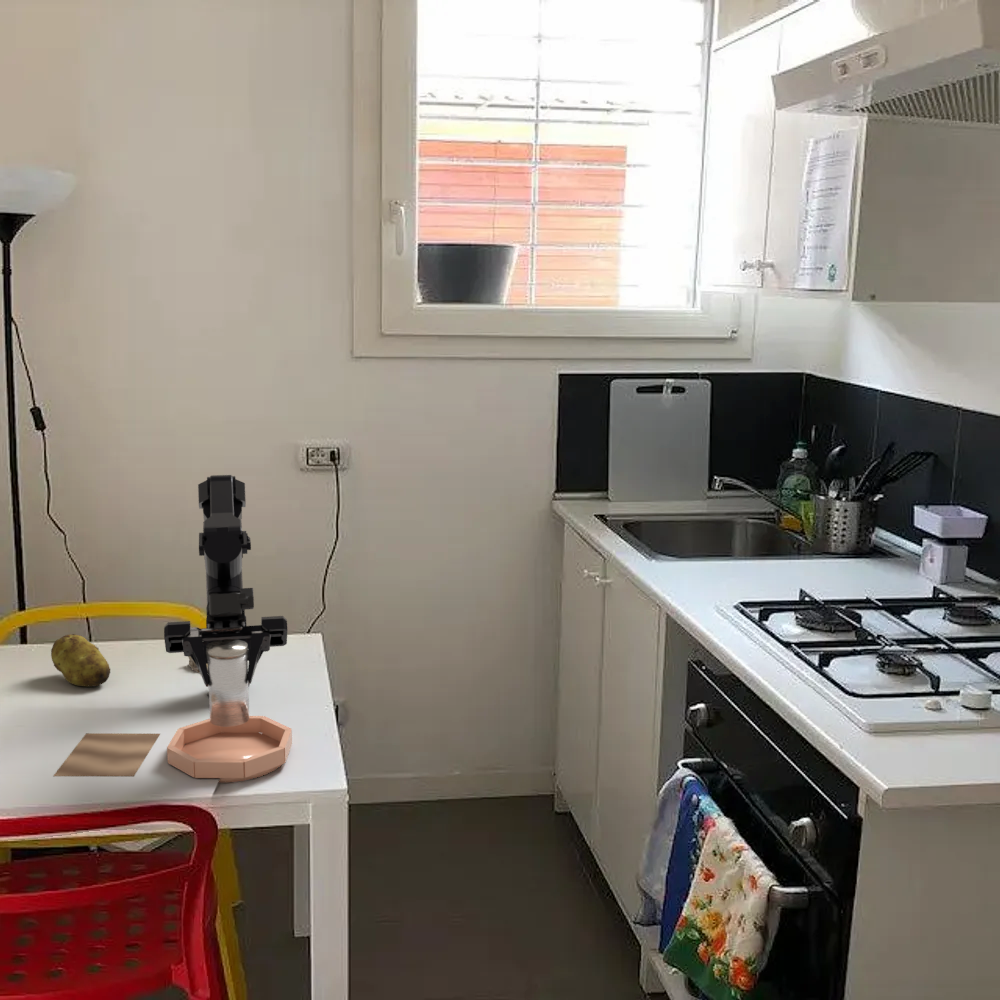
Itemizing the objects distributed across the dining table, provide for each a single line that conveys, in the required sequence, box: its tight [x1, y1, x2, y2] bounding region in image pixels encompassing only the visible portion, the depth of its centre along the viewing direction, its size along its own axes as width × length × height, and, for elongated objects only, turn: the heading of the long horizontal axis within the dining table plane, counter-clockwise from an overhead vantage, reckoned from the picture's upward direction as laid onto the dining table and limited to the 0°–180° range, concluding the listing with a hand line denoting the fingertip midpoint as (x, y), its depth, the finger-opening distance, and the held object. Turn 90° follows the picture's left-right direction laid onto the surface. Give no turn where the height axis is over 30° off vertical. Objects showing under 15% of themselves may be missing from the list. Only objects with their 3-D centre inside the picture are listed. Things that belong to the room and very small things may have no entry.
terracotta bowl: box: [166, 715, 293, 784], centre depth 191 cm, size 18×18×4 cm
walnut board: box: [53, 732, 161, 777], centre depth 191 cm, size 16×12×1 cm
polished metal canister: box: [206, 639, 250, 727], centre depth 189 cm, size 6×6×12 cm
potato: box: [50, 633, 111, 687], centre depth 223 cm, size 8×13×8 cm, turn 35°
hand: (228, 684), depth 188 cm, fingers closed on polished metal canister, 6 cm apart
